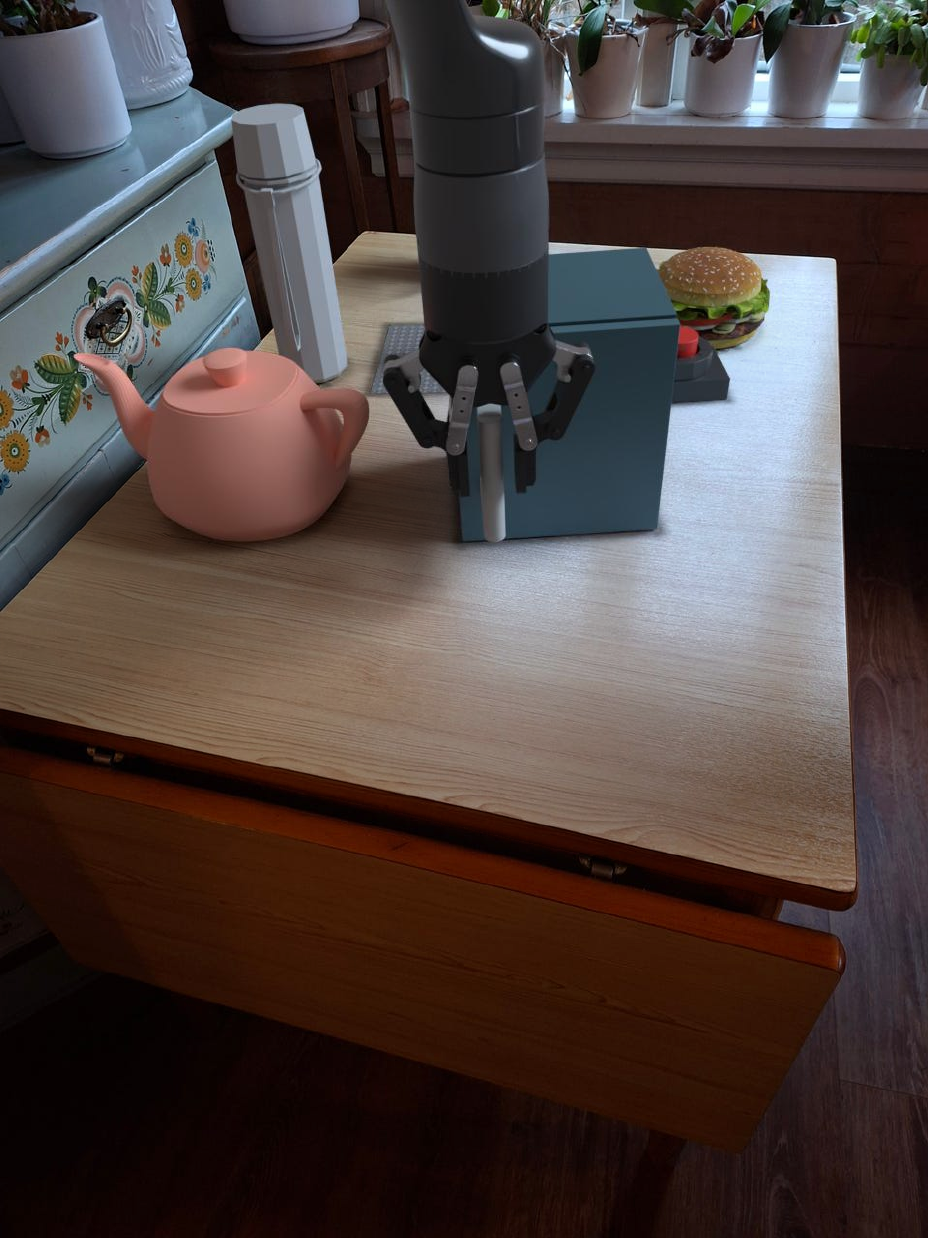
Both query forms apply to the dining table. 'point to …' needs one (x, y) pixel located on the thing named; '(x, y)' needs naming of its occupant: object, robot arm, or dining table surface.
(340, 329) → the water bottle
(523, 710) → the dining table surface
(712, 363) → the button box
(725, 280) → the food
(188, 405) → the teapot
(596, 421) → the cupboard door
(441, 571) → the dining table surface
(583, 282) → the cupboard
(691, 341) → the red push button
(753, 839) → the dining table surface
